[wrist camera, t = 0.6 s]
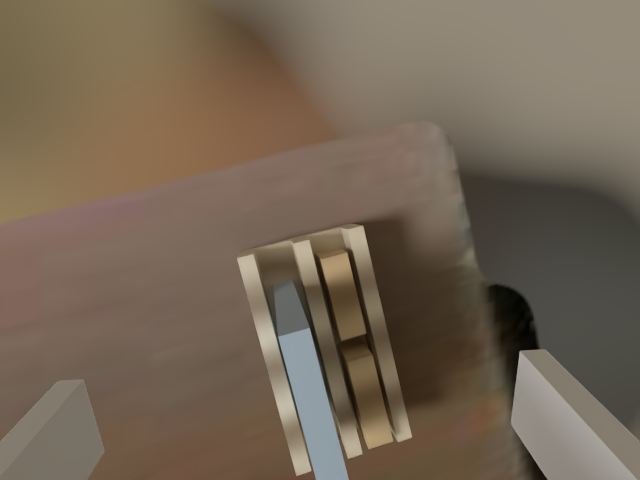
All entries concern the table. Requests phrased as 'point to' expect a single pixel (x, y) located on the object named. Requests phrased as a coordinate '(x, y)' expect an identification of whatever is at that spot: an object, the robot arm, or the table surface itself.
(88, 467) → the robot arm
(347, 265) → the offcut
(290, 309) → the pale blue panel
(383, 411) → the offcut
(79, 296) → the table surface
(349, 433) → the rack
